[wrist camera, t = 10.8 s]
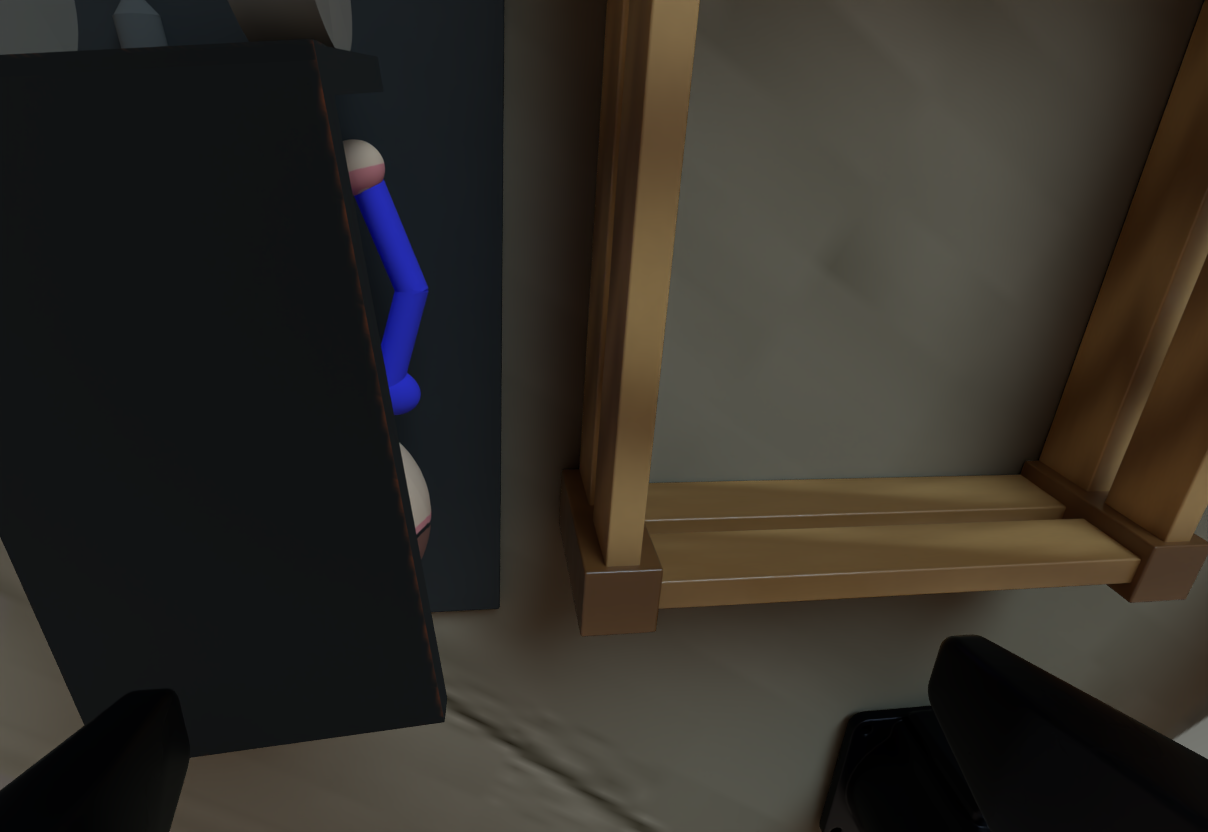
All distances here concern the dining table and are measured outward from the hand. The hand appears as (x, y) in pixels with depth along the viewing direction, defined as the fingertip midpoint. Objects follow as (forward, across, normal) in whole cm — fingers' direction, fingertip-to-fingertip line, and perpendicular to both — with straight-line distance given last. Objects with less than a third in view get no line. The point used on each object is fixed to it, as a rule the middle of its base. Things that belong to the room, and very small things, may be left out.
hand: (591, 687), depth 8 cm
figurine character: (+11, +6, -2) cm, 13 cm away
